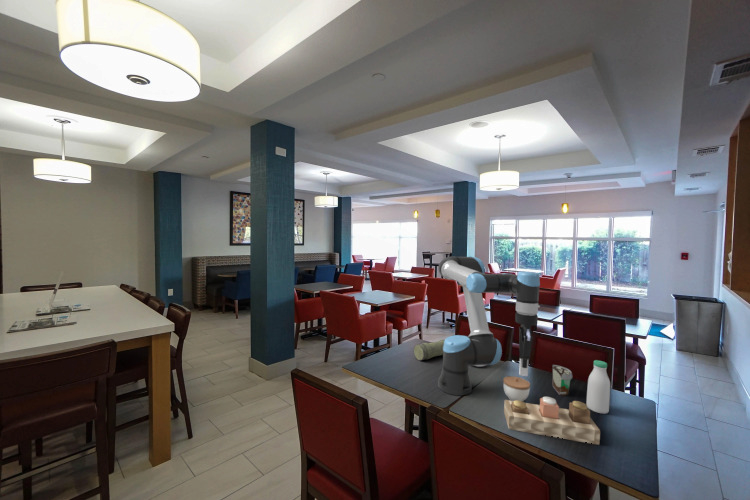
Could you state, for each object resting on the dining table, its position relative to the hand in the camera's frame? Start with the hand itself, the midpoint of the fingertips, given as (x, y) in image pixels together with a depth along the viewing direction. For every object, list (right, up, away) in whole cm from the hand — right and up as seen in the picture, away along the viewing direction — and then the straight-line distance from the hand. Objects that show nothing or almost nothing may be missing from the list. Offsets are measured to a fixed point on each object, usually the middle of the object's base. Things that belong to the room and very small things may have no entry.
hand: (523, 374), depth 119 cm
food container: (+32, -19, +28) cm, 46 cm away
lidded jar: (+5, -18, +19) cm, 27 cm away
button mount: (+8, -19, -1) cm, 21 cm away
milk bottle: (+37, -20, +13) cm, 44 cm away
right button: (+18, -15, -4) cm, 24 cm away
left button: (-1, -17, +1) cm, 17 cm away
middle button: (+9, -14, -2) cm, 17 cm away
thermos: (-32, -11, +58) cm, 67 cm away
